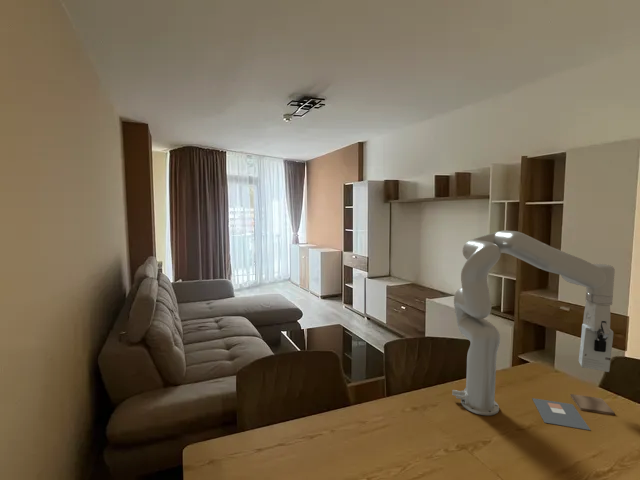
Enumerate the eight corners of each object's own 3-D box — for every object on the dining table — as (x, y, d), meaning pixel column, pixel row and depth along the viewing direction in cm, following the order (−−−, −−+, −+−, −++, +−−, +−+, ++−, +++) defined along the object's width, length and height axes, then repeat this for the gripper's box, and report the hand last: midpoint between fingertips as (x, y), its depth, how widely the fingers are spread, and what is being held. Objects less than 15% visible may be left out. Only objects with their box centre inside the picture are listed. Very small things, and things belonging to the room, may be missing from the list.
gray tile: (544, 422, 117) (544, 422, 117) (532, 398, 132) (532, 398, 132) (590, 430, 113) (590, 429, 113) (572, 404, 128) (572, 404, 128)
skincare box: (581, 367, 126) (584, 327, 125) (578, 361, 131) (580, 322, 130) (610, 372, 122) (614, 331, 121) (606, 366, 127) (609, 326, 126)
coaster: (580, 409, 125) (580, 407, 124) (570, 395, 134) (570, 393, 134) (614, 415, 121) (614, 413, 121) (601, 400, 131) (601, 398, 131)
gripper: (577, 292, 134) (574, 338, 135) (596, 303, 118) (593, 355, 119) (600, 294, 132) (597, 340, 133) (624, 305, 115) (619, 358, 117)
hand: (595, 347), depth 126 cm, fingers closed on skincare box, 6 cm apart
